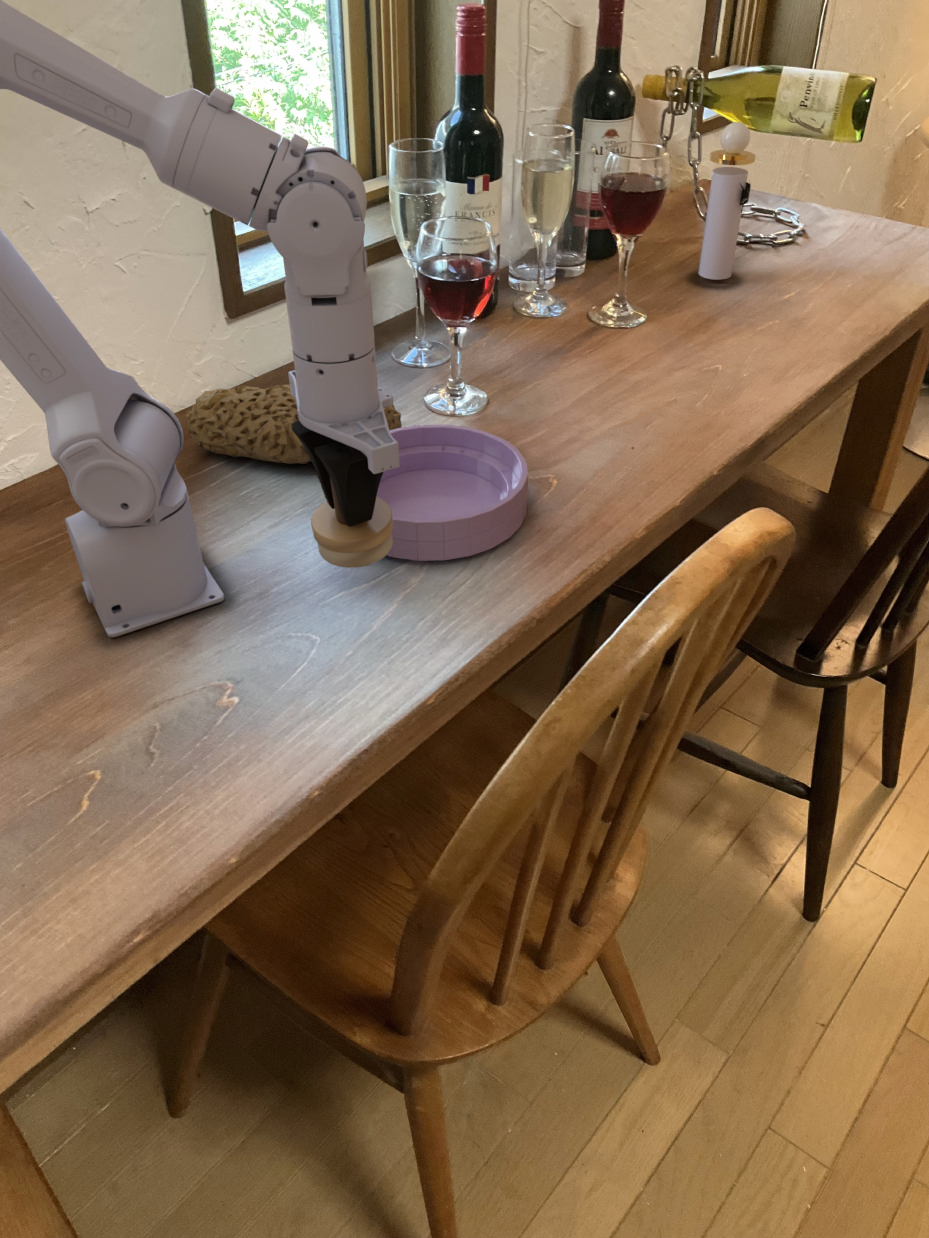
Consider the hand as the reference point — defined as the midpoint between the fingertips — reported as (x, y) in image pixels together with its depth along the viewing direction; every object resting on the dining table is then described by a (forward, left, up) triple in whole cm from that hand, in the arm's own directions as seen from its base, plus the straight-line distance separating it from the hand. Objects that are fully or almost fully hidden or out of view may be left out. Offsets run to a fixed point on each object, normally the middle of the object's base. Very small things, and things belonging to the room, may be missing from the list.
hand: (350, 512), depth 75 cm
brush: (0, 0, -3) cm, 3 cm away
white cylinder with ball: (+74, +39, -8) cm, 84 cm away
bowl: (+11, +7, -7) cm, 15 cm away
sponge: (+5, +24, -8) cm, 26 cm away
